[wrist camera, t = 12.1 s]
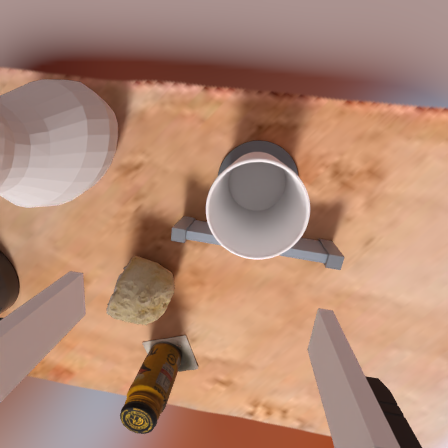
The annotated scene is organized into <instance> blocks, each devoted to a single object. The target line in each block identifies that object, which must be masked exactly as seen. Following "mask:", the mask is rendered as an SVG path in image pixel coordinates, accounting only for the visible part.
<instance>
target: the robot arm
mask: <svg viewBox="0 0 448 448" xmlns="http://www.w3.org/2000/svg"><path fill="white" fill-rule="evenodd" d="M18 292H19V283H18V279H17V275H16V273H15V270H14V268H13V267H12V265H11V263H10V262H9V261H8V259H7V258H6V257H5V256H4V255H3V254H2V253H1V252H0V314H1V313H2V312H4V311H5V310H7V309H8V308H10V307H11V306H12V305H13V304H14V303H15V301H16V299H17V297H18ZM85 314H86V312H85V296H84V280H83V273H78V272H72V271H70V272H68V273H67V274H66V275H64V276H63V277H61V278H60V279H58V280H57V281H56V282H54V283H53V284H51V285H50V286H49V287H47V288H46V289H44V290H43V291H42V292H40V293H39V294H37V295H36V296H34V297H33V298H32V299H30V300H29V301H27V302H26V303H25V304H23V305H22V306H20V307H19V308H17V309H16V310H15V311H13V312H12V313H10V314H9V315H8V316H6V317H5V318H0V402H1V401H2V400H3V399H4V398H5V397H6V396H7V395H8V394H9V393H10V392H11V391H12V390H13V389H14V388H15V387H16V386H17V385H18V384H19V383H20V382H21V381H22V380H23V379H24V378H25V377H26V376H27V375H28V374H29V372H30V371H31V370H32V369H33V368H34V367H35V366H36V365H37V364H38V363H39V362H40V361H41V360H42V359H43V358H44V357H45V356H46V355H47V354H48V353H49V352H50V351H51V350H52V349H53V348H54V347H55V346H56V345H57V343H58V342H59V341H60V340H61V339H62V338H63V337H64V336H65V335H66V334H67V333H68V332H69V331H70V330H71V329H72V328H73V327H74V326H75V325H76V324H77V323H78V322H79V321H80V320H81V319H82V318H83V317H84V316H85ZM308 353H309V357H310V360H311V364H312V368H313V371H314V375H315V378H316V382H317V386H318V389H319V393H320V396H321V400H322V404H323V407H324V411H325V414H326V418H327V422H328V425H329V429H330V432H331V436H332V439H333V443H334V447H335V448H422V447H421V445H420V443H419V441H418V440H417V438H416V436H415V434H414V433H413V431H412V429H411V427H410V426H409V424H408V422H407V420H406V418H404V416H403V413H402V411H401V410H400V408H399V406H397V403H396V401H395V399H394V397H393V395H392V394H391V392H390V390H389V389H388V388H387V387H386V386H385V385H384V384H383V383H382V382H381V381H380V380H379V379H378V378H372V377H366V376H365V375H364V373H363V371H362V369H361V367H360V365H359V363H358V361H357V359H356V357H355V355H354V353H353V351H352V349H351V347H350V345H349V343H348V341H347V339H346V337H345V335H344V333H343V331H342V328H341V326H340V324H339V322H338V320H337V318H336V316H335V314H334V312H333V311H332V310H325V309H319V308H318V311H317V315H316V319H315V322H314V326H313V330H312V334H311V338H310V342H309V346H308Z"/></svg>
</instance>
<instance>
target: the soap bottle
mask: <svg viewBox="0 0 448 448" xmlns="http://www.w3.org/2000/svg"><path fill="white" fill-rule="evenodd" d="M117 141H118V123H117V119H116V116H115V113H114V112H113V110H112V109H111V108H110V107H109V105H108V104H107V103H106V102H105V101H104V100H103V99H102V98H101V97H100V96H98V95H97V94H96V93H95V92H94V91H92V90H91V89H90V88H88V87H87V86H85V85H84V84H83V83H81V82H78V81H71V80H54V79H43V80H38V81H33V82H30V83H28V84H25V85H23V86H21V87H19V88H17V89H14V90H12V91H10V92H8V93H5V94H3V95H1V96H0V196H2V197H3V198H5V199H7V200H8V201H10V202H12V203H13V204H15V205H17V206H22V207H26V208H30V207H44V206H55V205H61V204H63V203H66V202H69V201H72V200H73V199H75V198H76V197H78V196H79V195H81V194H82V193H84V192H85V191H86V190H88V189H89V188H91V187H92V186H94V185H95V184H96V183H97V182H98V181H99V180H100V179H101V178H102V177H103V176H104V174H105V173H106V171H107V170H108V168H109V166H110V165H111V163H112V160H113V157H114V155H115V152H116V147H117Z"/></svg>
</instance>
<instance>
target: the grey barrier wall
mask: <svg viewBox="0 0 448 448" xmlns="http://www.w3.org/2000/svg"><path fill="white" fill-rule="evenodd" d="M187 239H188V240H194V241H199V242H205V243H211V244H217V245H221V244H220V243H219V242H218V241H217V240H216V239H215V237H214V236H213V234H212V232H211V230H210V228H209V225H208V222H204V221H198V220H195V218H192V217H186V216H183V217H182V218H181V219H180V220H179V221H178V222H177V223H176V224H175V225H174V226H173V227H172V234H171V241H176V242H182V243H185V241H186V240H187ZM280 256H286V257H292V258H298V259H303V260H309V261H315V262H321V263H324V265H325V267H326V268H331V269H337V270H341V267H342V263H343V260H344V256H343V255H342V253H341V252H340V251H339V249H338V248H337V247H336V245H335V244H334V243H333V242H332V241H330V240H324V239H319V241H318V240H312V239H306V238H300V239H299V240H298V242H297V243H296V244H295V245H294V246H293V247H291V248H290V249H289V250H287V251H286V252H284V253H282V254H280Z"/></svg>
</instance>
